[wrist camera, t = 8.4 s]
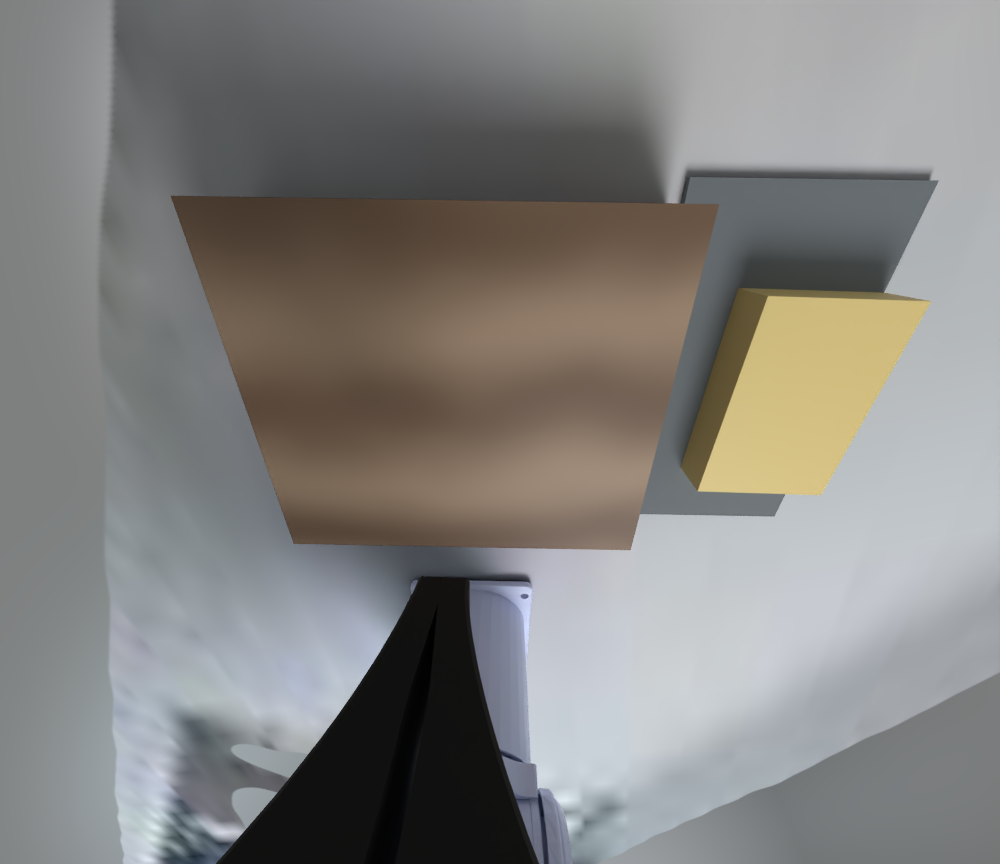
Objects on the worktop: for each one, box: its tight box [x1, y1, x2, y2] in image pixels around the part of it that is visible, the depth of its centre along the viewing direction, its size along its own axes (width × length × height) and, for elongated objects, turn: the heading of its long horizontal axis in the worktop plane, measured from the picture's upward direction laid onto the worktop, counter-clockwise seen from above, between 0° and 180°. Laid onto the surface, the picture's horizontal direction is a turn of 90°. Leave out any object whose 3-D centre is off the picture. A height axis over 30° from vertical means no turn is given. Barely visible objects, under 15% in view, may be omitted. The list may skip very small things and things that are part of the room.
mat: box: [640, 177, 938, 516], centre depth 18 cm, size 16×9×1 cm, turn 179°
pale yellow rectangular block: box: [681, 288, 931, 495], centre depth 17 cm, size 9×6×2 cm, turn 178°
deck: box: [171, 196, 719, 550], centre depth 16 cm, size 14×16×4 cm
